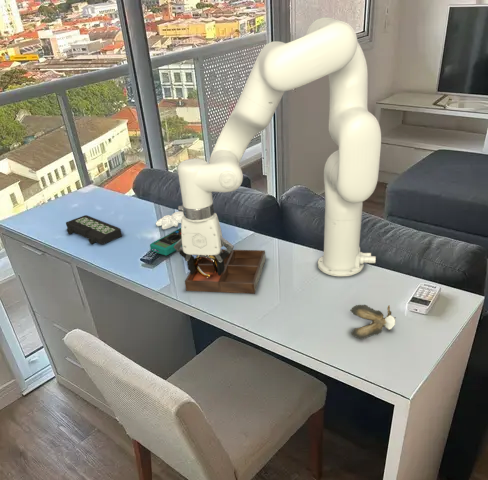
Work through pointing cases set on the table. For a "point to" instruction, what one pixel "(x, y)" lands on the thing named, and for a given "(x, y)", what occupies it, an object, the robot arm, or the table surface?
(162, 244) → the digital multimeter
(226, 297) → the table surface
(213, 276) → the ring
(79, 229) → the digital display
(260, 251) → the tray
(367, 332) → the eagle figurine
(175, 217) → the astronaut figurine
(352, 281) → the table surface
